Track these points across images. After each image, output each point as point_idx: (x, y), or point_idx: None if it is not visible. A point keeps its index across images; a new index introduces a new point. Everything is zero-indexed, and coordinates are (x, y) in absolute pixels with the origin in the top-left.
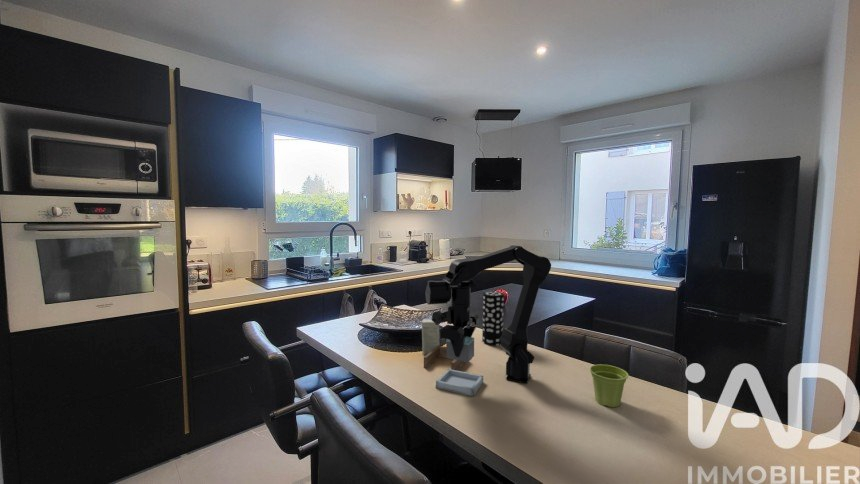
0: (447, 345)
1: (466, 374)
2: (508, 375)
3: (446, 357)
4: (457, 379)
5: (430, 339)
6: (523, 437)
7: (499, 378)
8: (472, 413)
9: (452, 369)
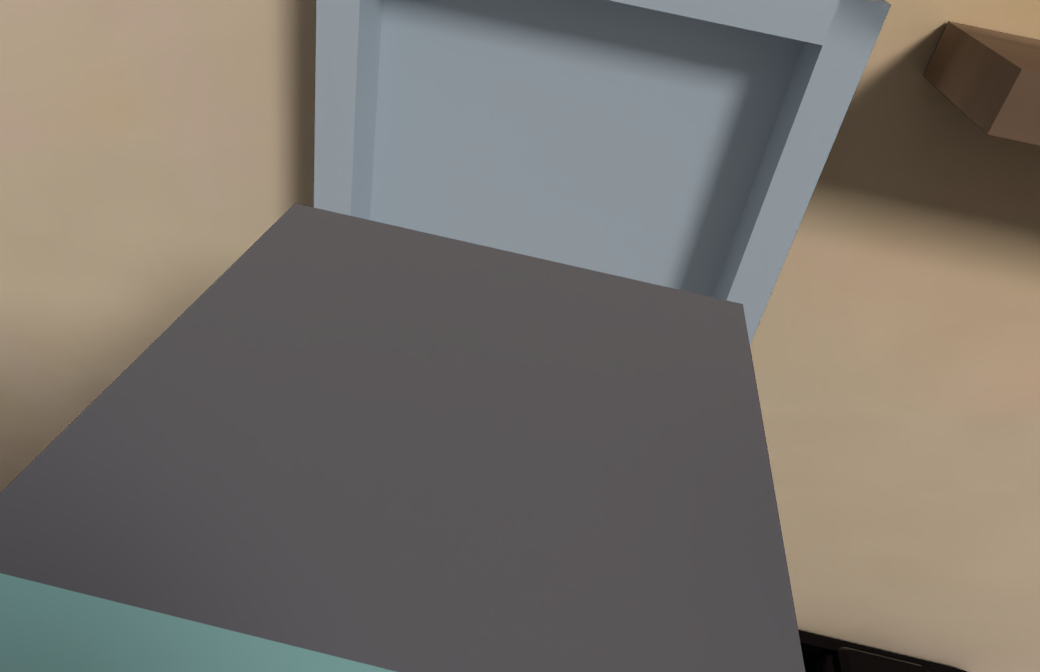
0: (75, 460)
1: None
2: (819, 665)
3: (290, 210)
4: (645, 179)
5: None
6: None
7: (804, 577)
8: (66, 370)
9: (955, 64)
